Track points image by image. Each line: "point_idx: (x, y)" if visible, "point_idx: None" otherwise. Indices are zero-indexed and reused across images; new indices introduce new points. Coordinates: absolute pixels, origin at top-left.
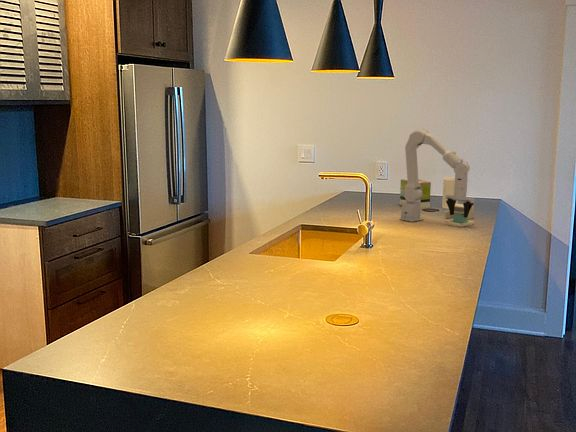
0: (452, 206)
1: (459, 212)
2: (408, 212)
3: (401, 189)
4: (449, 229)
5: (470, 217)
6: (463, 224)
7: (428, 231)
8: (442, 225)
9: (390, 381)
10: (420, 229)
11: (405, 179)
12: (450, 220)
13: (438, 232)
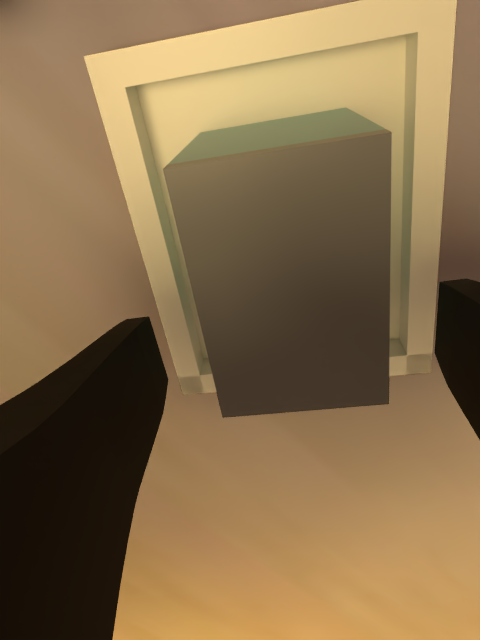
0: (101, 479)
1: (232, 287)
2: None
3: None
4: (391, 503)
5: None
6: (429, 333)
7: (327, 626)
8: (213, 432)
9: None
10: (243, 620)
11: None
12: (165, 318)
13: (400, 609)
